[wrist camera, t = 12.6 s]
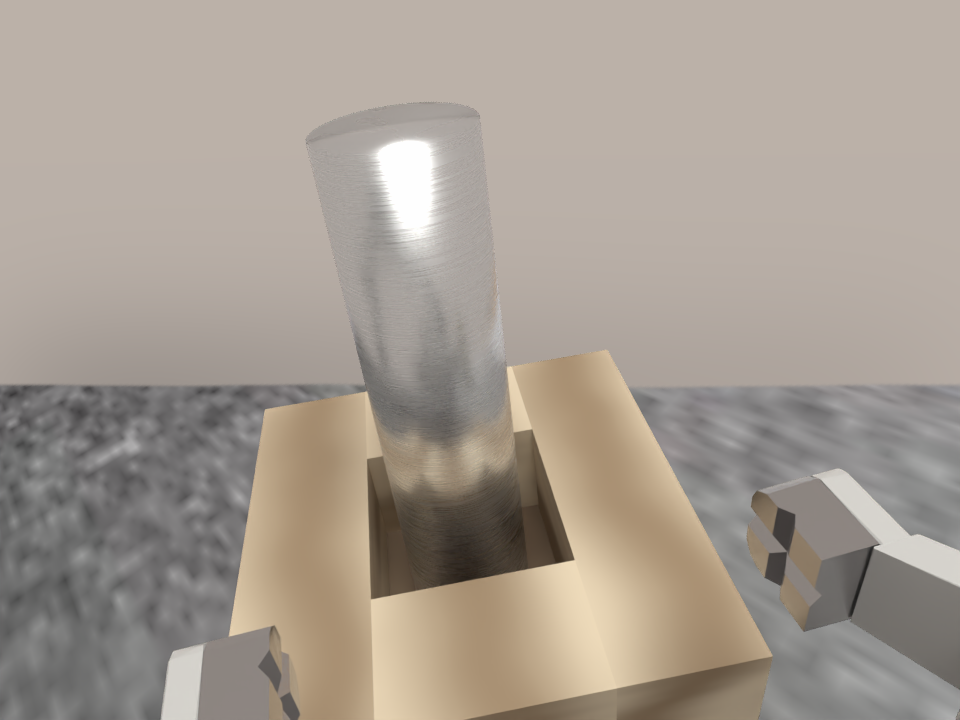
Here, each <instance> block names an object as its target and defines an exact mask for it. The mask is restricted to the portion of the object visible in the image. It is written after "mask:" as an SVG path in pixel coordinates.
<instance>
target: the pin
mask: <svg viewBox="0 0 960 720" xmlns="http://www.w3.org/2000/svg"><path fill="white" fill-rule="evenodd" d="M306 146H307V150H308V154H309V158H310V162H311V166H312V170H313V174H314V178H315V182H316V186H317V190H318V194H319V199H320V202H321V207H322V211H323V215H324V219H325V223H326V227H327V231H328V235H329V239H330V243H331V247H332V251H333V255H334V259H335V264H336V267H337V271H338V276H339V279H340V284H341V288H342V292H343V296H344V300H345V304H346V308H347V312H348V316H349V320H350V324H351V328H352V332H353V337H354V341H355V345H356V349H357V353H358V357H359V361H360V365H361V369H362V373H363V377H364V381H365V385H366V389H367V393H368V398H369V402H370V406H371V410H372V414H373V418H374V422H375V426H376V430H377V434H378V438H379V442H380V446H381V450H382V454H383V458H384V462H385V467H386V471H387V475H388V479H389V483H390V487H391V491H392V495H393V499H394V503H395V507H396V511H397V515H398V519H399V523H400V527H401V532H402V536H403V540H404V544H405V548H406V552H407V556H408V560H409V564H410V568H411V572H412V576H413V580H414V584H415V588H416V591H418V590H423V589H428V588H433V587H439V586H444V585H449V584H454V583H459V582H464V581H470V580H475V579H480V578H485V577H490V576H495V575H501V574H506V573H511V572H516V571H521V570H527V569H528V561H527V551H526V542H525V533H524V523H523V514H522V505H521V495H520V486H519V477H518V467H517V458H516V449H515V440H514V430H513V421H512V412H511V402H510V393H509V384H508V374H507V365H506V356H505V347H504V337H503V328H502V319H501V309H500V301H499V291H498V282H497V273H496V263H495V253H494V244H493V236H492V226H491V217H490V207H489V198H488V188H487V179H486V170H485V160H484V152H483V142H482V132H481V123H480V116H479V113H478V112H477V111H476V110H474V109H473V108H470V107H468V106H464V105H459V104H453V103H442V102H441V103H440V102H420V103H407V104H398V105H390V106H384V107H378V108H373V109H368V110H364V111H360V112H356V113H353V114H349V115H346V116H343V117H340V118H337V119H334V120H332V121H330V122H327V123H325V124H324V125H321V126H319V127H318V128H316V129H315V130H313V131H312V132H311V133H310V134H309V135H308V137H307V138H306Z"/></svg>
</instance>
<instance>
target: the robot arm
mask: <svg viewBox="0 0 960 720" xmlns="http://www.w3.org/2000/svg"><path fill="white" fill-rule="evenodd" d="M751 508H752V509H753V510H754V511H755V513H756V514H757V515H756V516H755V517H754V518H753V519H752V521H751V522H750V523H749V524H748V530H747V542H748V546H749V550H750V554H751V556H752V558H753V560H754V562H755V564H756V566H757V567H758V569H759V570H760V572H761V573H762V575H763V576H764V578H766V579H768V580H770V581H772V582H774V583H776V584H778V585H780V586H781V588H780V600H781V601H782V603H783V604H784V605H785V607H786V608H787V609H788V611H789V612H790V614H791V615H792V616H793V618H794V619H795V620H796V622H797V623H798V625H799V626H800V627H801V629H802V630H803V631H804V632H805V631H808V630H812V629H816V628H819V627H823V626H827V625H830V624H834V623H837V622H841V621H845V620H848V619H851V622H852V623H854V624H855V625H857V626H858V627H860V628H862V629H863V630H865V631H866V632H868V633H870V634H871V635H873V636H874V637H876V638H878V639H879V640H881V641H882V642H884V643H886V644H887V645H889V646H890V647H892V648H894V649H895V650H897V651H898V652H900V653H902V654H903V655H905V656H906V657H908V658H910V659H911V660H913V661H914V662H916V663H918V664H919V665H921V666H922V667H924V668H926V669H927V670H929V671H930V672H932V673H934V674H935V675H937V676H938V677H940V678H942V679H943V680H945V681H946V682H948V683H950V684H951V685H953V686H954V687H956V688H958V689H959V690H960V551H958V550H956V549H953V548H951V547H949V546H946V545H944V544H941V543H939V542H936V541H934V540H932V539H929V538H927V537H924V536H922V535H920V534H917V535H913V536H910V535H909V534H908V533H907V532H906V531H905V530H904V529H903V528H902V527H901V526H900V525H899V524H898V523H897V522H896V521H895V520H894V519H893V518H892V517H891V516H890V515H889V514H888V513H887V512H886V511H885V510H884V509H883V508H882V507H881V506H880V505H879V504H878V503H877V502H876V501H875V500H874V499H873V498H872V497H871V496H870V495H869V494H868V493H867V492H866V491H865V490H864V489H863V488H862V487H861V486H860V485H859V484H858V483H857V482H856V481H855V480H854V479H853V478H852V477H851V476H850V475H849V474H848V473H847V472H845V471H843V470H841V469H839V468H838V469H834V470H830V471H826V472H823V473H819V474H816V475H812V476H810V477H809V476H806V477H802V478H799V479H796V480H792V481H789V482H785V483H782V484H779V485H775V486H772V487H768V488H765V489H761V490H758V491H757V492H756V493H755V494H754V495H753V497H752V503H751ZM300 715H301V711H300V695H299V688H298V682H297V676H296V673H295V669H294V666H293V663H292V661H291V658H290V656H289V654H287V653H284V652H282V651H281V637H280V635H279V633H278V631H277V629H276V627H275V625H274V626H270V627H266V628H262V629H258V630H254V631H250V632H246V633H242V634H238V635H234V636H230V637H226V638H222V639H218V640H214V641H210V642H206V643H202V644H198V645H195V646H191V647H187V648H183V649H180V650H176V651H173V653H172V655H171V658H170V660H169V662H168V667H167V675H166V682H165V690H164V697H163V705H162V712H161V720H298V718H299V716H300ZM956 720H960V710H959V712H958V714H957V716H956Z"/></svg>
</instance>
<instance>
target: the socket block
mask: <svg viewBox="0 0 960 720" xmlns="http://www.w3.org/2000/svg"><path fill="white" fill-rule="evenodd" d="M507 374H508V384H509V393H510V402H511V412H512V421H513V430H514V440H515V449H516V458H517V467H518V477H519V486H520V495H521V505H522V514H523V523H524V533H525V542H526V551H527V561H528V569H527V570H521V571H516V572H511V573H506V574H501V575H495V576H490V577H485V578H480V579H475V580H470V581H464V582H459V583H454V584H449V585H444V586H439V587H433V588H428V589H423V590H418V591H416V588H415V584H414V580H413V576H412V572H411V568H410V564H409V560H408V556H407V552H406V548H405V544H404V540H403V536H402V532H401V527H400V523H399V519H398V515H397V511H396V507H395V503H394V499H393V495H392V491H391V487H390V483H389V479H388V475H387V471H386V467H385V462H384V458H383V454H382V450H381V446H380V442H379V438H378V434H377V430H376V426H375V422H374V418H373V414H372V410H371V406H370V402H369V398H368V393H367V392H362V393H357V394H351V395H345V396H340V397H334V398H328V399H322V400H317V401H311V402H305V403H300V404H294V405H288V406H282V407H277V408H271V409H265V413H264V420H263V426H262V432H261V439H260V445H259V451H258V457H257V464H256V470H255V476H254V482H253V489H252V495H251V501H250V507H249V514H248V520H247V526H246V532H245V539H244V545H243V551H242V557H241V564H240V570H239V576H238V583H237V589H236V595H235V601H234V608H233V614H232V620H231V626H230V633H229V637H230V636H234V635H238V634H242V633H246V632H250V631H254V630H258V629H262V628H266V627H270V626H274V625H275V627H276V629H277V631H278V633H279V635H280V637H281V651H282V652H284V653H287V654H289V656H290V658H291V661H292V663H293V666H294V669H295V673H296V676H297V682H298V688H299V695H300V711H301V715H300V716H299V718H298V720H758V719H759V714H760V710H761V705H762V701H763V697H764V692H765V688H766V684H767V679H768V675H769V671H770V666H771V662H772V658H773V656H772V654H771V652H770V650H769V648H768V646H767V645H766V643H765V641H764V639H763V637H762V635H761V634H760V632H759V630H758V628H757V626H756V624H755V622H754V621H753V619H752V617H751V615H750V613H749V611H748V609H747V608H746V606H745V604H744V602H743V600H742V598H741V596H740V595H739V593H738V591H737V589H736V587H735V585H734V584H733V582H732V580H731V578H730V576H729V574H728V572H727V571H726V569H725V567H724V565H723V563H722V561H721V559H720V558H719V556H718V554H717V552H716V550H715V548H714V546H713V545H712V543H711V541H710V539H709V537H708V535H707V534H706V532H705V530H704V528H703V526H702V524H701V522H700V521H699V519H698V517H697V515H696V513H695V511H694V509H693V508H692V506H691V504H690V502H689V500H688V498H687V496H686V495H685V493H684V491H683V489H682V487H681V485H680V484H679V482H678V480H677V478H676V476H675V474H674V472H673V471H672V469H671V467H670V465H669V463H668V461H667V459H666V458H665V456H664V454H663V452H662V450H661V448H660V446H659V445H658V443H657V441H656V439H655V437H654V435H653V434H652V432H651V430H650V428H649V426H648V424H647V422H646V421H645V419H644V417H643V415H642V413H641V411H640V409H639V408H638V406H637V404H636V402H635V400H634V398H633V396H632V395H631V393H630V391H629V389H628V387H627V385H626V384H625V382H624V380H623V378H622V376H621V374H620V373H619V371H618V369H617V367H616V365H615V363H614V361H613V360H612V358H611V356H610V354H609V352H608V350H603V351H597V352H591V353H586V354H580V355H574V356H569V357H563V358H557V359H551V360H546V361H540V362H535V363H528V364H523V365H517V366H511V367H507Z"/></svg>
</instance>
